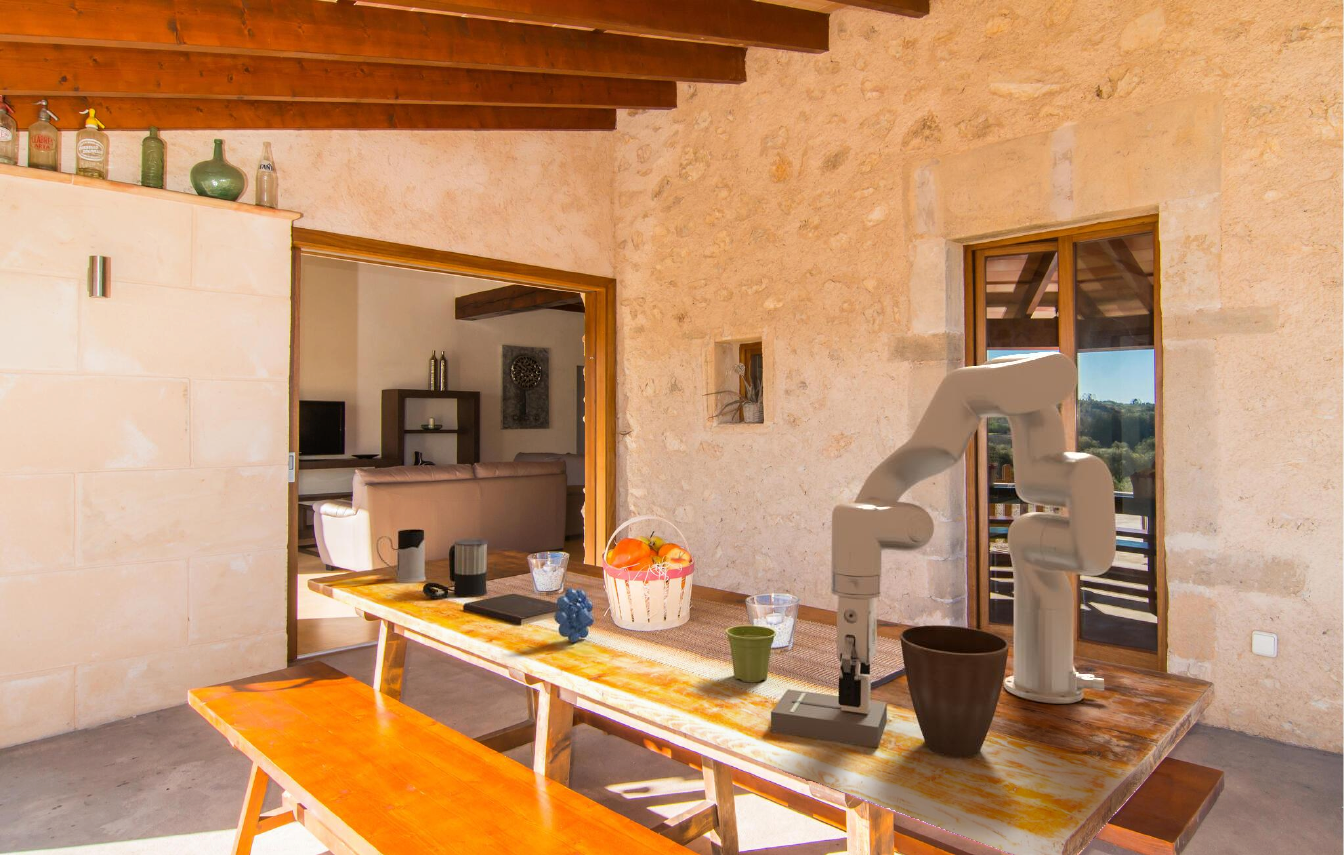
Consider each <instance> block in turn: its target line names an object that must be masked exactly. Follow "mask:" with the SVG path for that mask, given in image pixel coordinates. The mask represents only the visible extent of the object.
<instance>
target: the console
mask: <svg viewBox="0 0 1344 855" xmlns="http://www.w3.org/2000/svg"><path fill="white" fill-rule="evenodd" d="M887 708H888V703H887V702H886V701H878V700H873V699H872V700H871V707H870V710H869V712H868V714H866V713H858V712H851V711H844V710H841V705H840V704H839V703H838V695H835V694H834V695H832V694H825V693H817V692H811V691H803V690H796V689H795V690H794V689H787V690H786V691H785V692H784V693H783V695H782V696H781V698H780V699H779V700H778V702H777V703H776V704H775V706H774V707H773V708H772V710H771V711H770V732H772V733H779V734H785V735H793V736H798V737H806V738H812V739H818V740H825V741H831V742H839V743H844V744H850V745H851V744H852V745H858V746H865V747H869V748H870V747H871V748H877V749H878V748H879V746H880V743H881V740H882V737H883V734H884V731H885V729H886V728H885V727H886V725H887V722H888V721H887V720H888V719H887V718H888V716H887V715H888V712H887V711H888V709H887Z"/></svg>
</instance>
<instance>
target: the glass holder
mask: <svg viewBox="0 0 1344 855" xmlns="http://www.w3.org/2000/svg"><path fill="white" fill-rule="evenodd" d="M383 538H387V539H388V540H389V542H390V548H391V549H392V550H393V551H397V552H396V553H397V554H396V555H397V556H396V558H397V560H396V561H397V563H396V564H397V566H396V568H397V569H395V568H394V567H393V566H391V565H390V564H388V562H386V561H385V560H384V559H383V557H382V556H381V553H380V551H379V546H378V545H379V540H381V539H383ZM425 539H426V538H425V530H424V529H419V528H418V529H416V528H413V529H401V530H398V531H397V548H393V541H392V539H391V538H390V537H389V536H387V535H382V536H380V537H379V538H377V541H376V552H377V555H378V557H379V559H380V561H381V562H383V564H385V565H386V566H387V567H389V568H390V569H391V570H393V572H395V576H397V577H396V580H395V582H396V583H397V584H398V583H399V584H416V583H421V582H425V581H427V579H426V578H427V577H426V575H425V572H426V571H425V570H426V569H425V568H426V567H425V566H426V565H425V559H426V558H425V554H426V553H425V550H426V546H425V544H426V543H425V542H426V540H425Z"/></svg>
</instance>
